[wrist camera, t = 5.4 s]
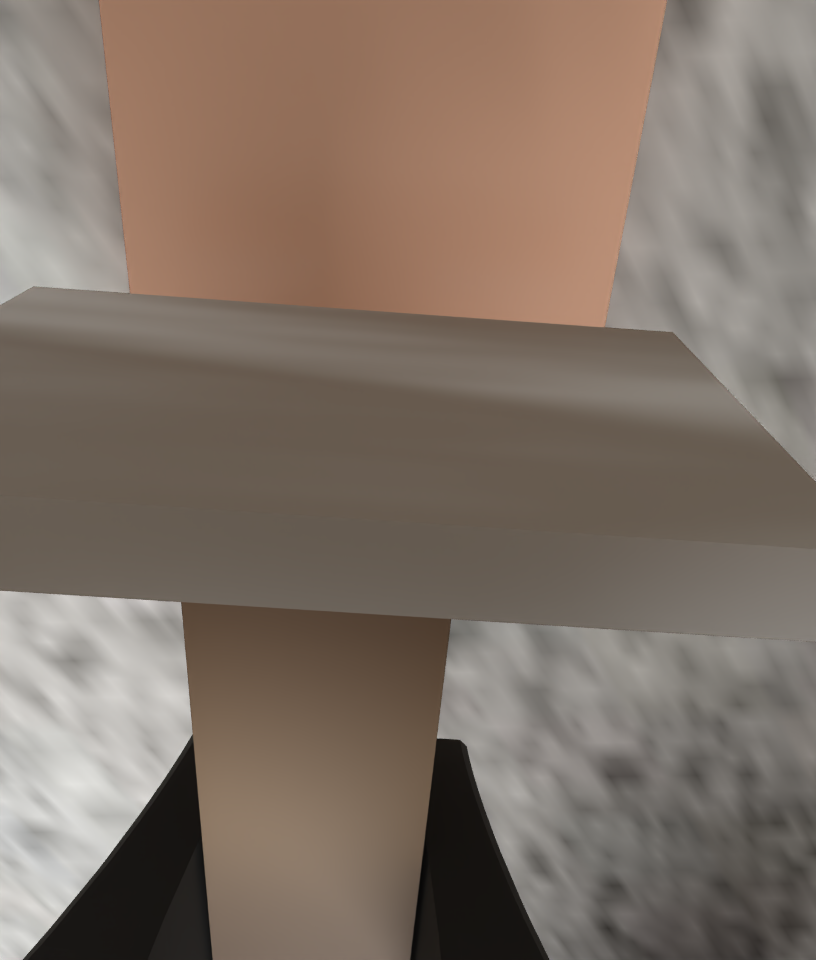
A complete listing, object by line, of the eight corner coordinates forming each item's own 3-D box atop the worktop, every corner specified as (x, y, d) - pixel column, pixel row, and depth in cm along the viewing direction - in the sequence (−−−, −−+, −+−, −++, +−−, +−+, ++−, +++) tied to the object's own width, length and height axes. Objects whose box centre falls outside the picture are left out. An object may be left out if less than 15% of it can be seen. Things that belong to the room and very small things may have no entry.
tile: (591, 399, 14) (701, -181, 10) (138, 369, 13) (74, -231, 10) (573, 365, 15) (663, -147, 11) (167, 338, 15) (121, -190, 11)
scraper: (520, 968, 16) (557, 1303, 12) (140, 948, 16) (36, 1279, 12) (672, 332, 10) (883, 552, 5) (33, 286, 10) (-298, 475, 5)
